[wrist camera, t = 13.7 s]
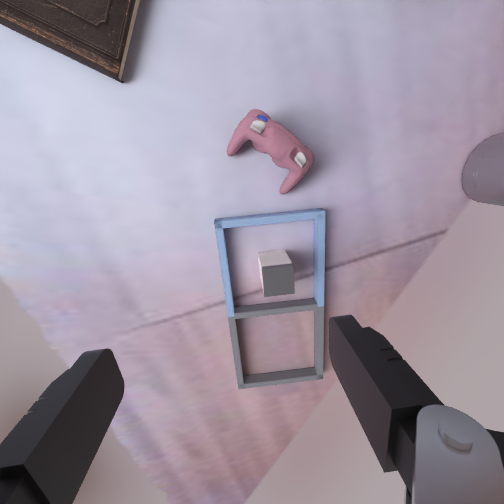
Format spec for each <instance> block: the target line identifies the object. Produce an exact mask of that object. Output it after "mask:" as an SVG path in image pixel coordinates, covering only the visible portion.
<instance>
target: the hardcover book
mask: <svg viewBox="0 0 504 504" xmlns="http://www.w3.org/2000/svg"><path fill="white" fill-rule="evenodd" d="M139 2H140V0H0V24H2V25H4V26H6V27H8V28H10V29H12V30H14V31H16V32H18V33H20V34H22V35H25V36H27V37H29V38H31V39H33V40H35V41H37V42H39V43H41V44H43V45H45V46H47V47H49V48H51V49H53V50H55V51H57V52H59V53H62V54H64V55H66V56H68V57H70V58H72V59H74V60H76V61H78V62H80V63H82V64H84V65H86V66H88V67H90V68H92V69H94V70H97V71H99V72H101V73H103V74H105V75H107V76H109V77H111V78H113V79H115V80H117V81H119V82H121V83H124V82H123V81H121V79H122V75H123V71H124V66H125V62H126V58H127V54H128V49H129V45H130V41H131V37H132V32H133V28H134V24H135V20H136V15H137V11H138V7H139Z"/></svg>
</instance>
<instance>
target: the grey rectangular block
mask: <svg viewBox="0 0 504 504" xmlns="http://www.w3.org/2000/svg"><path fill="white" fill-rule="evenodd" d="M258 259H259V270H260V279H261V283H262V288H263V292H264V297H268V296H277V295H286V294H294V293H295V290H294V266H293V264H292V262H291V260H290V259H289V257H288V255H287V253H286V252H285V250H280V251H271V252H262V253H258Z"/></svg>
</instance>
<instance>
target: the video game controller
mask: <svg viewBox="0 0 504 504" xmlns="http://www.w3.org/2000/svg"><path fill="white" fill-rule="evenodd" d="M248 140H251V141H252V145H253V147H254V148H255V149H256V150H257V151H259V152H262V153H266V152H267V153H268V154H269V155H270V156H271V157H272V160H273V162H274V163H275V164H276V165H277V166H279V167H282V168H286V167H287V168H288V169H289V170H290V171H289V174H288V175H287V177H286V179H285V180H284V182H283V183H282V185H281V187H280V193H281V194H285V193H287V192H289V191H290V190H291V189H292V188H293V187H294V186H295V185H296V184H297V183H298V182H299V181H300V180H301V179H302V178H303V176H304V175H305V174H306V173H307V171H308V170H309V169H310V167H311V165H312V163H313V161H314V156H313V154H312V152H311V151H310V150H309V149H308V148H307V147H305V146H304V145H303V144H302V143H301V142H300V141H299V140H298V139H297V138H296V137H295V136H294V135H293V134H292V133H290V132H289V131H288V130H287V129H285V128H284V127H283V126H281V125H280V124H278V123H277V122H275V121H273V120H271V118H270V117H269V116H268V115H267V114H266V113H265V112H263V111H261V110H259V109H252V110H251V111H250V112H249V113H248V114H247V115H246V117H245V118H244V119H243V120H242V121H241V122H240V123H239V125H238V126H237V128H236V130H235V132H234V134H233V136H232V138H231V140H230V143H229V145H228V148H227V155H228V156H233V155H234V154H235V153H236V152H237V151H238V150H239V149H240V148H241V146H242V145H243V144H244V143H245V142H246V141H248Z"/></svg>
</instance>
